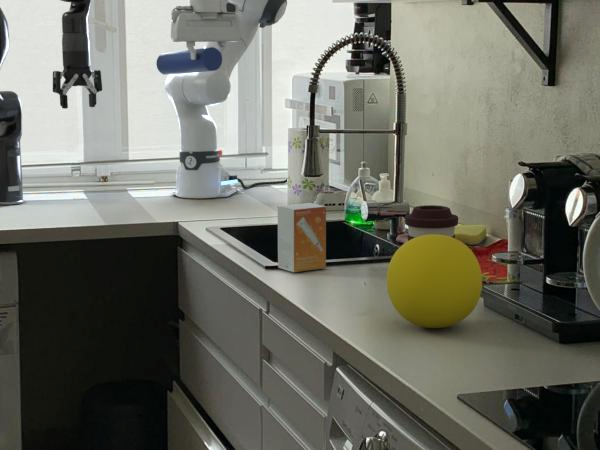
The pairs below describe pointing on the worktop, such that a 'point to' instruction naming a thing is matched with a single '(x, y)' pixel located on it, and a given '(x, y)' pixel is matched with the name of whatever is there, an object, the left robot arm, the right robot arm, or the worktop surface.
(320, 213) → the small box
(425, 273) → the toy
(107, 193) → the worktop surface
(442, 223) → the coffee cup
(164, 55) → the rod
